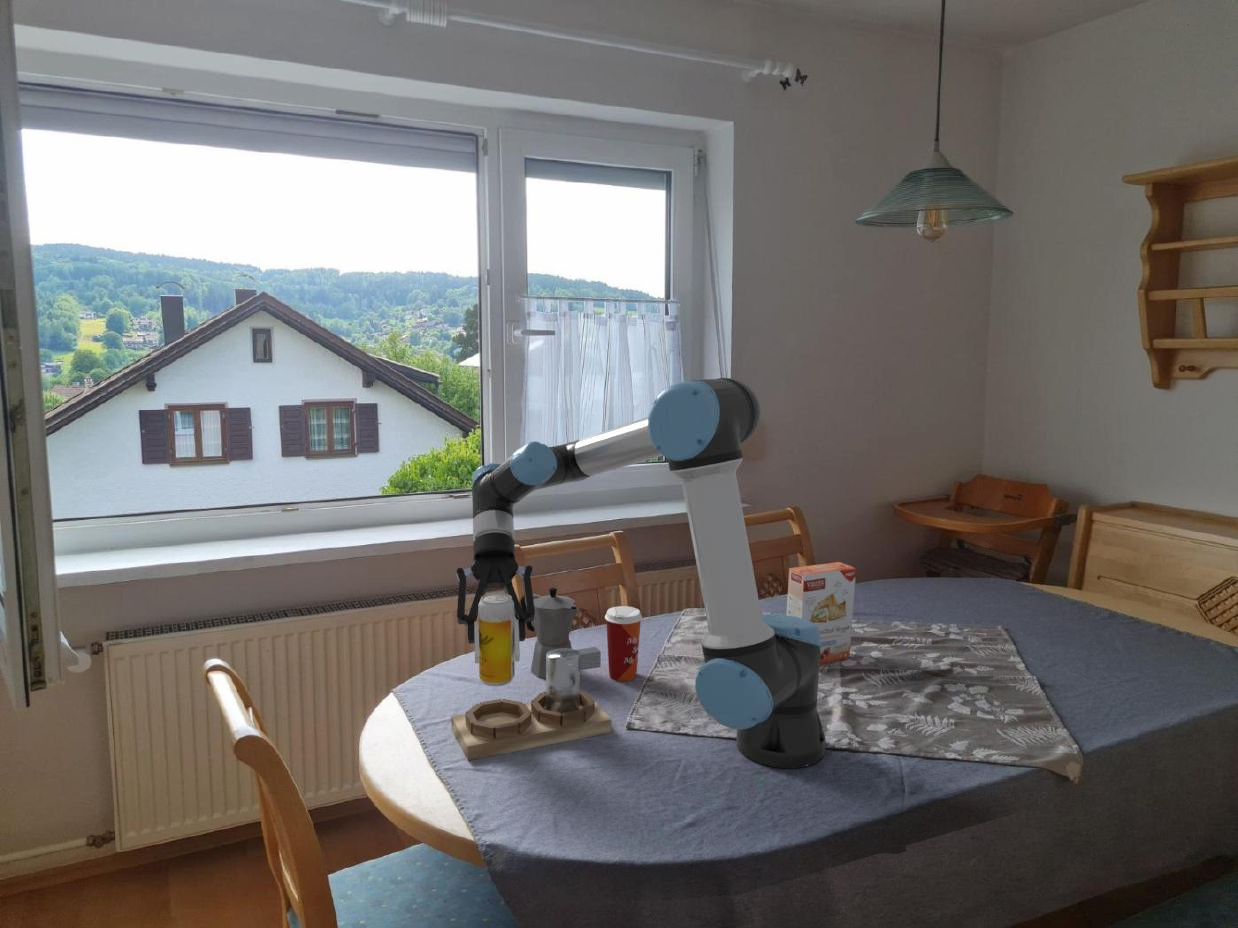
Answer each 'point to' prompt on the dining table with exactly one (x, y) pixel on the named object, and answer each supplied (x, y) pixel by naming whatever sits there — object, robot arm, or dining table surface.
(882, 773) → the dining table surface
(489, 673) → the beer can
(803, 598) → the cracker box
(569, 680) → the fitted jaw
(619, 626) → the paper cup
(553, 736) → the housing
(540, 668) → the coffeepot
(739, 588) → the robot arm
